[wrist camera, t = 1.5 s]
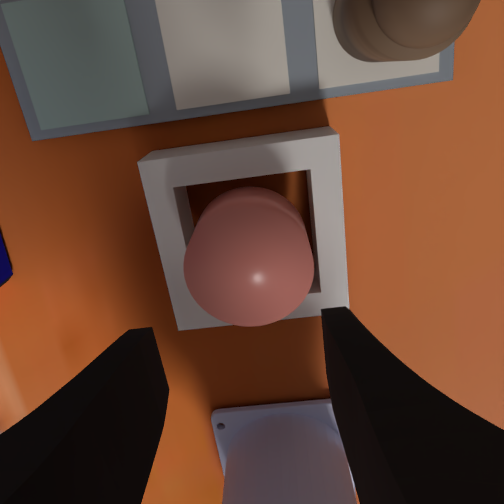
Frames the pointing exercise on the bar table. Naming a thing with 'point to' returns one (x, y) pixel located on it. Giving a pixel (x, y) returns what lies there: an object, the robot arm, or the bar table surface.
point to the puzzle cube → (4, 265)
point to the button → (249, 258)
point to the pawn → (399, 27)
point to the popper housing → (243, 166)
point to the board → (182, 60)
